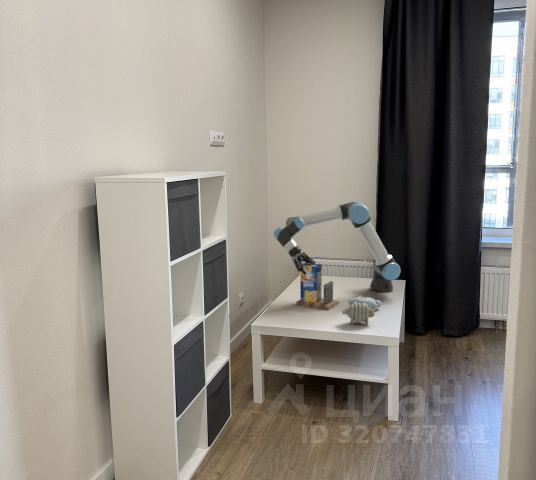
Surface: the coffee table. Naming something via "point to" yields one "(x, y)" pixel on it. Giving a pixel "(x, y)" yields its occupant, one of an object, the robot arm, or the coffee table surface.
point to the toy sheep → (359, 313)
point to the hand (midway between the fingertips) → (314, 275)
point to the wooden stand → (324, 303)
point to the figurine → (366, 302)
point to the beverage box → (311, 283)
